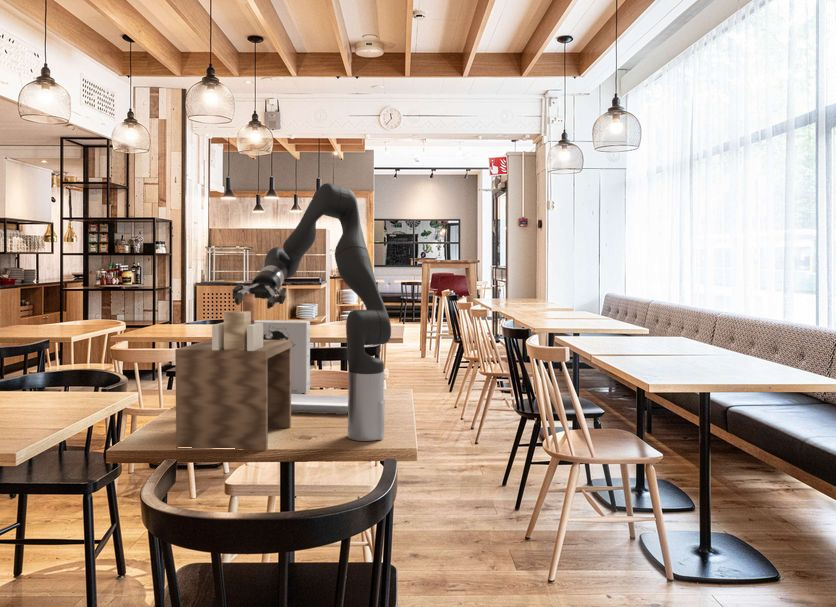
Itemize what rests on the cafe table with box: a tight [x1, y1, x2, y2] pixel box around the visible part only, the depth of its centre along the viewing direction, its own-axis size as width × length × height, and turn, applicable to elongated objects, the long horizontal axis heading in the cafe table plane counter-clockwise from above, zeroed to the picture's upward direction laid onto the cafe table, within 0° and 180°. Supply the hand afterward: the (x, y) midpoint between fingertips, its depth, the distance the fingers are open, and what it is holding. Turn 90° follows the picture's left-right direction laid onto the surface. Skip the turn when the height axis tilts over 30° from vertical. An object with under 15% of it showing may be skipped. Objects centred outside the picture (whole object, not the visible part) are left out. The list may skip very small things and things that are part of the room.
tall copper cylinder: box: [223, 293, 256, 350], centre depth 162 cm, size 5×12×13 cm, turn 177°
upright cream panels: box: [211, 321, 263, 351], centre depth 159 cm, size 10×8×6 cm
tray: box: [291, 394, 348, 415], centre depth 203 cm, size 17×32×4 cm, turn 84°
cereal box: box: [255, 319, 311, 394], centre depth 229 cm, size 22×8×25 cm, turn 91°
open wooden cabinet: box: [174, 338, 292, 452], centre depth 168 cm, size 22×24×24 cm
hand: (252, 303), depth 177 cm, fingers open, 8 cm apart
